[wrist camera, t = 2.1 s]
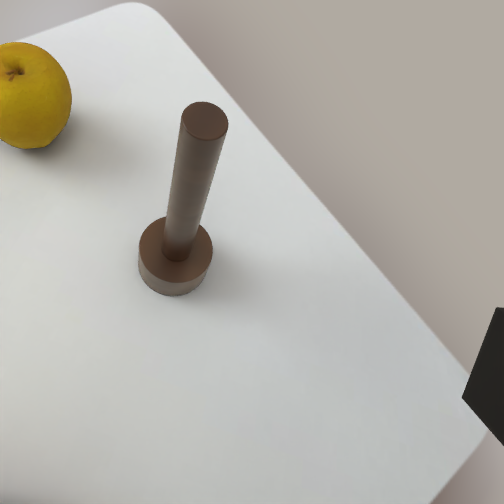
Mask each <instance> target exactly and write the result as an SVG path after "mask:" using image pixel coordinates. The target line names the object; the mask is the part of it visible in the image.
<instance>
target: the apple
mask: <svg viewBox="0 0 504 504" xmlns="http://www.w3.org/2000/svg"><path fill="white" fill-rule="evenodd" d="M71 104H72V95H71V89H70V85H69V81H68V78H67V76H66V74H65V72H64V70H63V69H62V67H61V66H60V64H59V63H58V62H57V61H56V60H55V59H54V58H53V57H52V56H51V55H50V54H49V53H48V52H46V51H45V50H43V49H42V48H40V47H38V46H35V45H32V44H28V43H21V42H11V43H5V44H2V45H0V139H1V140H3V141H4V142H6V143H8V144H10V145H12V146H14V147H17V148H23V149H29V148H40V147H45V146H47V145H48V144H50V143H51V142H52V141H53V140H54V138H55V137H56V136H57V135H58V134H59V133H60V132H61V131H62V129H63V128H64V127H65V125H66V123H67V121H68V118H69V115H70V111H71Z"/></svg>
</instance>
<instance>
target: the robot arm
mask: <svg viewBox="0 0 504 504" xmlns="http://www.w3.org/2000/svg"><path fill="white" fill-rule="evenodd" d="M462 399H463V400H464V401H465V402H466V403H467V404H468V406H469V407H470V408H471V409H472V410H473V411H474V412H475V414H476V415H477V416H478V417H479V418H480V419H481V421H482V422H483V423H484V424H485V425H486V426H487V427H488V429H489V430H490V431H491V432H492V433H493V434H494V435H495V437H496V438H497V439H498V440H499V441H500V442H501V443H502V445H503V446H504V308H499V307H497V308H496V309H495V312H494V314H493V317H492V320H491V322H490V325H489V328H488V330H487V333H486V336H485V338H484V341H483V343H482V346H481V349H480V351H479V354H478V356H477V359H476V362H475V364H474V367H473V369H472V372H471V375H470V377H469V380H468V382H467V385H466V388H465V390H464V393H463V395H462Z"/></svg>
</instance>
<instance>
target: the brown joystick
mask: <svg viewBox="0 0 504 504" xmlns="http://www.w3.org/2000/svg"><path fill="white" fill-rule="evenodd" d="M227 130H228V119H227V117H226V115H225V113H224V112H223V111H222V110H221V109H220V108H219V107H218V106H216V105H214V104H212V103H208V102H196V103H193V104H190V105H189V106H188V107H186V108H185V110H184V111H183V113H182V116H181V123H180V130H179V136H178V143H177V149H176V156H175V163H174V169H173V176H172V183H171V189H170V196H169V202H168V209H167V216H166V217H163V218H160V219H158V220H156V221H154V222H153V223H151V224H150V225H149V226H148V227H147V228H146V229H145V231H144V232H143V234H142V236H141V239H140V243H139V261H138V265H139V271H140V274H141V277H142V279H143V280H144V282H145V283H146V284H147V285H148V286H149V287H150V288H151V289H153V290H154V291H156V292H158V293H160V294H163V295H168V296H179V295H184V294H187V293H189V292H191V291H192V290H194V289H195V288H197V287H198V286H199V284H200V283H201V282H202V280H203V279H204V277H205V274H206V272H207V269H208V267H209V265H210V262H211V259H212V254H213V247H212V242H211V239H210V237H209V235H208V233H207V232H206V230H205V229H204V228H203V227H202V226H201V225H200V224H199V223H200V220H201V216H202V213H203V210H204V206H205V203H206V200H207V196H208V193H209V190H210V186H211V183H212V180H213V176H214V173H215V170H216V166H217V163H218V160H219V156H220V153H221V150H222V146H223V143H224V140H225V136H226V133H227Z"/></svg>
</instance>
